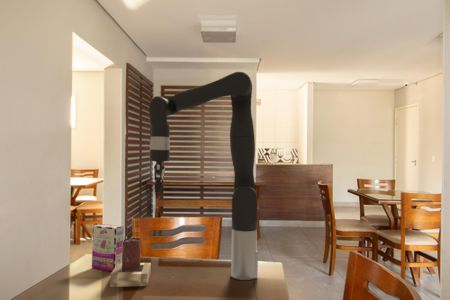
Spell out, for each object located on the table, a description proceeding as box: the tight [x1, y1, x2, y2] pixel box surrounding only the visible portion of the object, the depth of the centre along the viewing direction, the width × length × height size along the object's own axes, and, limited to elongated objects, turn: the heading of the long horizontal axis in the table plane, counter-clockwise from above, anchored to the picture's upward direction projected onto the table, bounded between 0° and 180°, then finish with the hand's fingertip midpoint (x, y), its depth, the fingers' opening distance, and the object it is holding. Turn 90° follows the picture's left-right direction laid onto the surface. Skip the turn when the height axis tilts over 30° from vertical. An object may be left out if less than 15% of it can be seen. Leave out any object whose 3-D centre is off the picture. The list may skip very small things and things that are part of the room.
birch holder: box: [109, 262, 152, 288], centre depth 118 cm, size 12×12×4 cm
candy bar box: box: [91, 223, 125, 273], centre depth 130 cm, size 11×5×16 cm, turn 68°
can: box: [122, 237, 142, 272], centre depth 118 cm, size 6×6×14 cm
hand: (158, 191), depth 130 cm, fingers open, 8 cm apart
